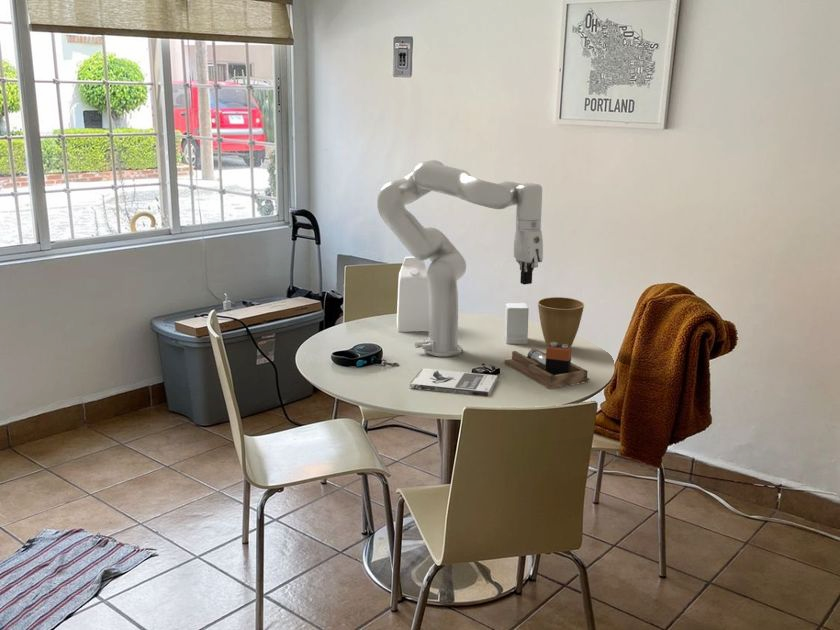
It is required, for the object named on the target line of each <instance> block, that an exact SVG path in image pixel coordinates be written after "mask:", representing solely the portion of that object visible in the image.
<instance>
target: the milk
mask: <svg viewBox="0 0 840 630" xmlns="http://www.w3.org/2000/svg"><path fill="white" fill-rule="evenodd" d="M427 271H428V268H427V267H426V263H425V260H418V259H416V258H415V257H414V256H405V257H404V260H403V262H402V265H401V267H400V269H399V271H398V280H397V281H398V283H397V303H396V307H397V309H396V328H397V329H398V330H397V329H396V330H397V332H398V331H427V332H429V289H428V282H427Z"/></svg>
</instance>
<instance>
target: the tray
mask: <svg viewBox="0 0 840 630" xmlns="http://www.w3.org/2000/svg"><path fill="white" fill-rule="evenodd" d="M531 350H536V351H538V352H540V353H542V354H544V355H546V352H544V351H542V350H539V349H537V348H536V347H533V348H531ZM511 353H512V354H511V358H509V359H504V360H503V362H504V363H503V364H505V365H506V366H509V367H510V368H512V369H513V370H515V371H517V372H519V373H520V374H522V375H524V376H526V377H527V378H530V379H531V380H533V381H535V382H537V383H538V384H540V385H542V386H543V387H545V388H547V389H549V390H551V389H556V387H557V388H561V387H560V386H563V387H567V386H566V385H568V386H573V385H572V384H574V385H577V383H579V384H583V383H582V382H585V383H589V382H590V377H588V373H589V371H588V370H586V369H585V368H582V366H579V365H577V364H575V363H572V362H571V367H570V373H564V374H558V375H552V374H550V373H548V372H547V371H545V369H543V368H541V367H540V364H539V363H537V362H535V361H533V360H531V359H530V358H528V357H527V355H524V354H522V353H520V352H518V351H516V350H514V351H511ZM588 381H589V382H588Z"/></svg>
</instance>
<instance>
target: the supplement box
mask: <svg viewBox="0 0 840 630" xmlns="http://www.w3.org/2000/svg"><path fill="white" fill-rule="evenodd" d="M528 330H529V306H528V305H527V302H516V303H515V302H510V303H509V302H507V303H505V308H504V335H503V336H504V340H505V343H506V344H507V345H509V344H510V345H511V344H513V345H515V344H516V345H517V344H518V345H520V344H521V345H526V344H528V339H529V338H528V336H529V335H528V333H529V332H528Z"/></svg>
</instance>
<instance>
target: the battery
mask: <svg viewBox="0 0 840 630" xmlns="http://www.w3.org/2000/svg"><path fill="white" fill-rule="evenodd" d="M572 349H573V348H572V346H568V345H567V344H563V345H558V344H557V343H556V342H551V343H550V344H549V345H548V346H547V345H546V350H545V354H546V365H545V371H547V372H548V373H550V374H552V375H558V374H564V373H570V367H571V363H572Z"/></svg>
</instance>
